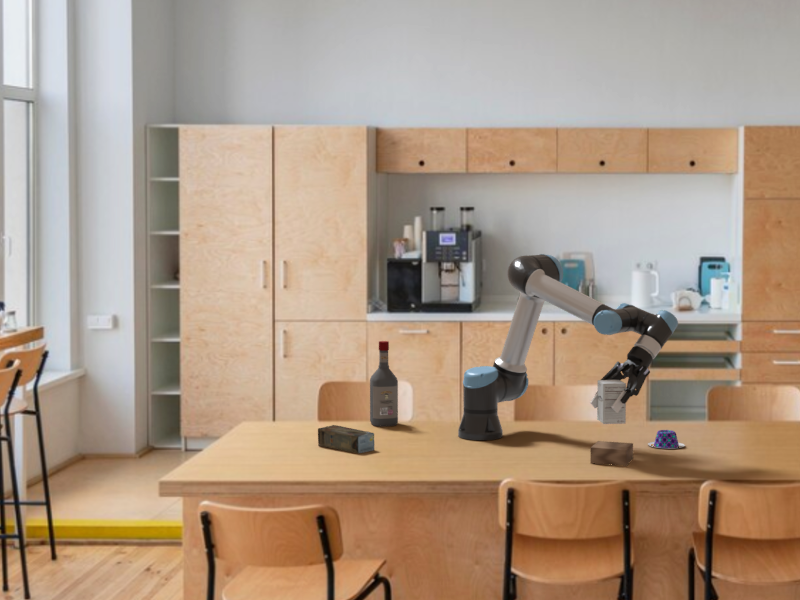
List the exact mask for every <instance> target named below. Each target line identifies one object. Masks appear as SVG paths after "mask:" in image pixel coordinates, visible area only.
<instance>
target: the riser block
mask: <svg viewBox="0 0 800 600" xmlns="http://www.w3.org/2000/svg"><path fill="white" fill-rule="evenodd" d="M632 459H633V460H634V443H632V442H622V441H621V442H620V441H607V440H606V441H605V440H603V441H602V440H597V441H596V443H594V444H593V445H591V447H590V463H595V464H594V465H603V464H610V465H609V466H616V465H623V466H622V467H628V465H629V464H630V463H631V462H632V461H633V460H632ZM631 460H632V461H631ZM630 461H631V462H630ZM629 462H630V463H629ZM628 463H629V464H628ZM611 464H612V465H611ZM627 464H628V465H627Z"/></svg>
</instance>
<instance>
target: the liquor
mask: <svg viewBox="0 0 800 600" xmlns="http://www.w3.org/2000/svg"><path fill="white" fill-rule="evenodd" d="M389 343H390V342H389V340H381V341H378V351H379V353H378V354H379V355H378V357H379V358H378V359H379V360H378V367H377V369H376V371H374V372H373V374H372V375H371V376H370V379H369V416H370V417H369V422H370V424H371V425H373V426H374V427H378V428H379V427H380V428H381V427H382V428H383V427H394V426H397V424H398V423H399V409H398V408H399V401H398V400H399V397H398V396H399V389H398V388H399V383H398V378H397V377H396V375H395V374H394V372H393V371H392V370H391V369H390V366H389V349H390V347H389V346H390V345H389Z"/></svg>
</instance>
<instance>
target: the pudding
mask: <svg viewBox="0 0 800 600" xmlns="http://www.w3.org/2000/svg"><path fill="white" fill-rule="evenodd" d="M651 444H654V445H653V446H655V447H653V446H651ZM647 445H648V446H649V447H652V448H656V449H666V450H674V449H681V448H684V447H686V444H685V443H681V442H679V440H678V437H677V432H675V431H674V430H672V429H671V430H669V429H660V430H657V433H656V436H655V439H654V441H651V442H648V443H647ZM679 446H680V447H679ZM678 447H679V448H678Z"/></svg>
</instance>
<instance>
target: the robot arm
mask: <svg viewBox="0 0 800 600" xmlns="http://www.w3.org/2000/svg"><path fill="white" fill-rule="evenodd" d="M563 278H564V268H563V267H562V264H561V262H560V260H559V259H558V258H557V257H555V256H554V255H552V254H545V253H540V254H534V255H533V254H532V255H520V256H518V257H516V258H515V259H513V260H512V261H511V262H510V263H509V266H508V268H507V279H508V281H509V283H510V284H511V286H512V287H513V288H514V289H515V290H517V291H518V292H519V297H518V300H517V303H516V306H515V309H514V312H513V315H512V319H511V322H510V325H509V329H508V332H507V335H506V338H505V341H504V344H503V345H504V346H503V348H502V351H501V354H500V356H498V357H496V358H495V359H494V362H493V365H492V366H490V365H489V366H488V365H481V366H474V367H471V368H468V369H467V370H465V371H464V374H463V380H462V384H463V387H462V389H463V393H462V395H463V397H462V398H463V400H462V401H463V411H462V412H463V414H462V417H461V421H460V423H459V425H458V431H457V433H458V437H459V438H461V439H464V440H470V441H471V440H472V441H473V440H474V441H491V440H499V439H501V438H503V433H504V432H503V427H502V424H501V421H500V419H499V415H498V414H499V413H498V404H499V403H504V402H511V401H514V400H517V399H519V398H521V397H522V396H524V395H525V394H526V392H527V390H528V387H529V378H528V373H527V370H528V368H527V365H526V364H525V362H526V359H527V356H528V353H529V350H530V346H531V343H532V341H533V338H534V335H535V331H536V328H537V324H538V321H539V319H540V315H541V312H542V309H543V306H544V303H545V302H547V303H548V304H550V305H553V306H554V307H557V308H558V309H561V310H562V311H564V312H567V313H568V314H570V315H571V316H572V315H573V316H574V317H576V318H578V319H580V320H582V321H584V322H586V323H588V324H590V325H592V326H594V328H595V330H596V331H597V333H599V334H601V335H604V336H605V335H608V336H611V335H612V336H613V335H616V334H620V333H628V332H634V333H636V334H639V335H640V337H639V338H638V339H637V340H636V341H635V343H634V344H633V346H632V347H631V348H630V350H629V351H628V353H627V355H626V360H625V361H624V362H623V363H621V362H620V361H616V363H615V364H614V366H613V367H611V369H610V370H609V371H607V372H606V374H605V375H604V376H602V378H600V380H620V381H622V380H625V379H626V378H627V379H628V380H627V383H626V390H625V389H624V390H625V391H626V392H625V391H623V392H622V393H621V394H620V396H619V397H618V398H617V400H616V401H615V403H614V404H613V405H612V409H613V410H614V411H615V412H616V413H618V412H619V411H620V409H621V408H622V406H623V405H624V404H625V403H626V404H627V402H628V401H629V400H630V398H631V397H633V396H635V397H636V396H638V395H639V394H640V391H641V390H642V387H643V385H644V384H645V381H646V379H647V377H648V375H650V373H651V371H650V369H649V366H650V365H651V364H652V363H653V361H654V360H655V358H656V357H657V356H658V354H659V353H660V351H661V350H662V349H663V347H664V346H665V345H666V343H667V342H668V341H669V339H670V338H671V337H672V335H673V334H674V332H675V330H676V329H677V328H678V326H679V322H678V321H679V320H678V319H677V317H676V315H674V314H673V313H671V312H670V311H668V310H665V309H664V310H663V309H661V310H658V312H657V313H656V314H654V313H651V312H649V311H647V310H644V309H641V308H639V307H637V306H635V305H633V304H629V303H626V302H622V303H620V305H618V306H617V307H616V308H613V307H610V306H609V305H607V304H605V303H603V302H601V301H599V300H597V299H594V298H593V297H591V296H588V295H587V294H584V293H582V292H581V291H579V290H577V289H575V288H574V287H572V286H568V285H566V284H565V283H563V282H562V281H563ZM597 394H598V390H597V392H595V394H594V396H593V397H592V399H591V400H590V402H589V403H590V404H591V406H592V407H593V408H594V409H597Z"/></svg>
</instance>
